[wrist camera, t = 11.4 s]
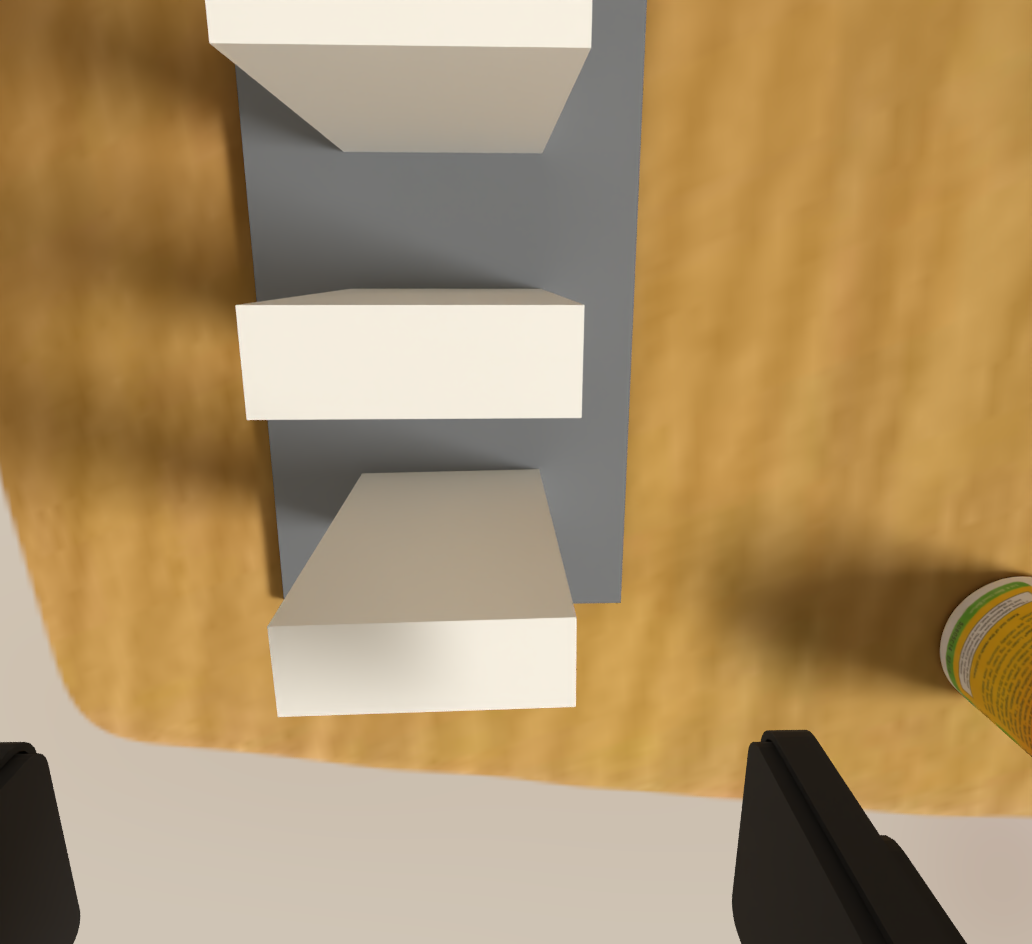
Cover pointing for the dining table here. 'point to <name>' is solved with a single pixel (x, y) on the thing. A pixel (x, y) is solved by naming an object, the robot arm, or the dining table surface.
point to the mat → (466, 265)
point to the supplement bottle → (994, 654)
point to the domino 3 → (430, 601)
